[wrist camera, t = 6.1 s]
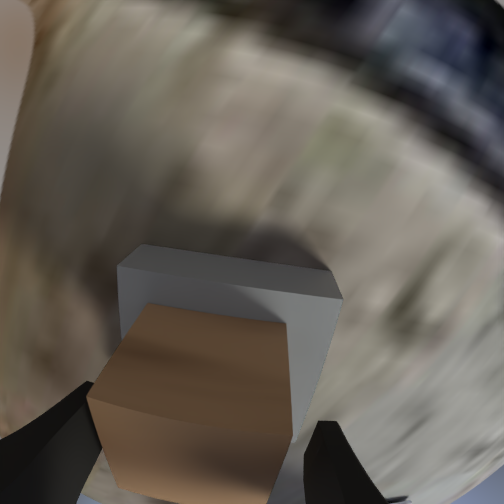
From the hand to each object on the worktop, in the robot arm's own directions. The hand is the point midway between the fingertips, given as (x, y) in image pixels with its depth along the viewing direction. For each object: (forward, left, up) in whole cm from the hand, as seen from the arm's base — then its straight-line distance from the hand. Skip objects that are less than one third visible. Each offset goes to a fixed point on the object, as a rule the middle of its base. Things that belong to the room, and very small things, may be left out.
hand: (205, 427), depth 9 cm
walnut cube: (0, 0, -3) cm, 3 cm away
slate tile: (0, 0, -6) cm, 6 cm away
